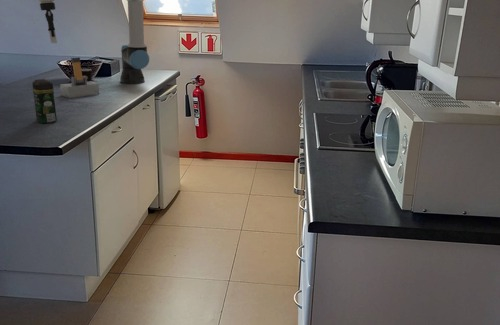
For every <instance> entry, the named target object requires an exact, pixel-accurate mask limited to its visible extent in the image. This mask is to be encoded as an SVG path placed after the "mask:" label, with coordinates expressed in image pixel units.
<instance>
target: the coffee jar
mask: <svg viewBox="0 0 500 325" xmlns="http://www.w3.org/2000/svg"><path fill="white" fill-rule="evenodd" d="M54 91H55V89H54V83H52V82H51V81H49V80H46V79H44V78H43V79H42V78H41V79H40V78H39V79H35V80H34V81H33V82H32V93H33V94H32V95H33V99H34V100H33V101H34V110H35V117H36V121H37V122H38V123H41V124H52V123H54V122H57V120H58V119H57V110H56V103H55V102H56V101H55V93H54Z"/></svg>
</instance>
